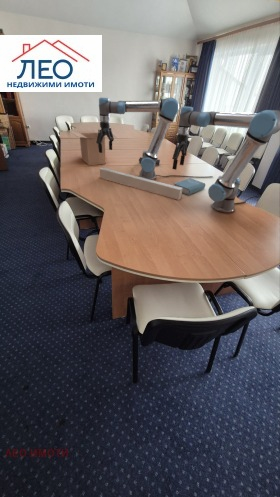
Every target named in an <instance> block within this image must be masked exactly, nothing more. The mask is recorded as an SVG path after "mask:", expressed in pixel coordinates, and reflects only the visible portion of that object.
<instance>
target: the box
mask: <svg viewBox="0 0 280 497" xmlns="http://www.w3.org/2000/svg"><path fill="white" fill-rule="evenodd" d="M70 133H71V134H72V135H74V136H75V137H77V138H79V144H80V153H81V160H83V162H85V163H86V165H87V166H95V165H97V166H98V165H106V163H107V162H106V158H107V157H106V138H108V137H107V135H105V136H104V138H103V140H102V143H101V144H102V153H99V148H98V144H97V143H96V141H97V136H98V131H97V132H96V131H95V130H92V129H91V130H77V132H76V131H70Z"/></svg>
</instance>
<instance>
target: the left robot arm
mask: <svg viewBox="0 0 280 497" xmlns="http://www.w3.org/2000/svg"><path fill="white" fill-rule="evenodd" d="M179 109H180V105H179V102H178V100H177V99H176V98H174V97H166V98H159V99H158V100H117V101H112V100H111V101H110V98H109V97H99V99H98V112H99V113H98V114H99V128H100V129H98V131H97V132H98V136H97V141H96V143H97V144H98V148H99V153H102V144H101V143H102V140H103V138H104V136H105V135H107V137H106V138H107V139H108V150H110V151H112V150H113V142H114V141H115V138H114V135H113V131H112V127H111V124H110V114H114V115H115V114H116V115H117V114H118V115H125V114H126V113H158V118H159V120H158V122H157V125H156V127H155V130H154V132H153V136H152V138H151V140H150V142H149V146H148V148H147V150H143V151H142V157H143V158H142V157H141V158H142V161H141V163H140V168H141V169H140V172H139V176H138V177H142V178H146V179H149V180H153V181H154V180H156V178H157V177H162V178H168V177H179V175H176V174H173V175H172V174H171V175H170V174H169V175H161V174H160V175H159V174H156V169H155V167H156V165H155V163H156V161H157V159H158V158H159V155H158V154H159V151H160V149H161V147H162V144H163V141H164V140H165V137H166V135H167V132H168V130H169V127H170V125H171V124H173V123H174V121H175V118H176V116H177V115H178V112H179ZM158 160H159V159H158ZM180 177H181V178H195V176H193V175H192V176H191V175H180ZM197 178H202V179H203V178H206V176H197ZM208 178H213V175H211V176H208Z"/></svg>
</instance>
